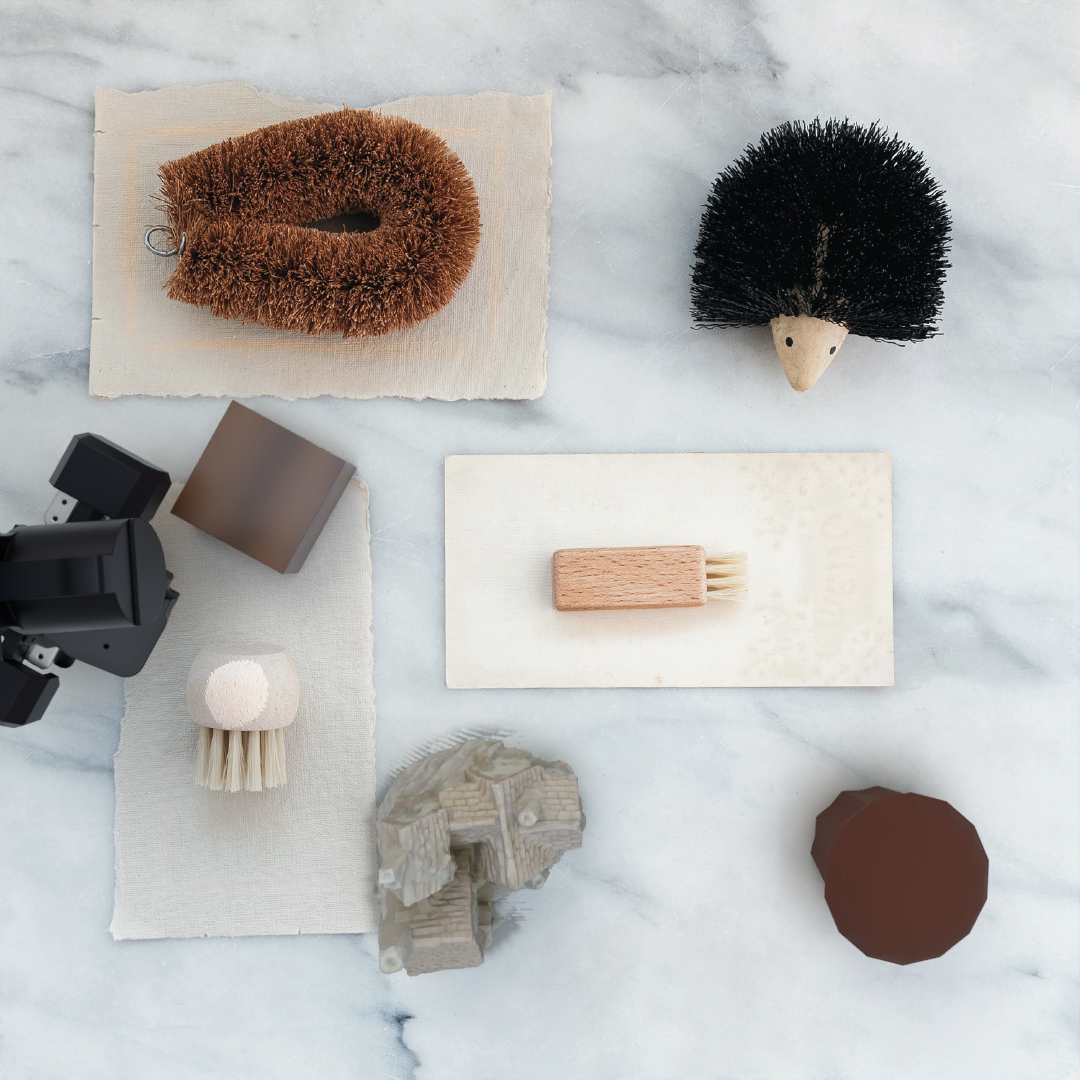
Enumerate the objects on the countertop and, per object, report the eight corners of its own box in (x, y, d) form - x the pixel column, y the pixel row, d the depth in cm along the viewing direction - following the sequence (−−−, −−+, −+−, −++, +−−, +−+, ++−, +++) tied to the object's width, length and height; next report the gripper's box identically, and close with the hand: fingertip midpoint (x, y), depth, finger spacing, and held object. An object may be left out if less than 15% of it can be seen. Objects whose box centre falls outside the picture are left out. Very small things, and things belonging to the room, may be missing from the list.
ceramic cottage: (365, 946, 63) (331, 1060, 48) (384, 725, 64) (358, 770, 49) (571, 956, 64) (601, 1070, 49) (587, 739, 65) (622, 786, 50)
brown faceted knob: (839, 741, 64) (896, 777, 54) (967, 808, 64) (1049, 856, 54) (767, 880, 64) (811, 942, 54) (896, 948, 64) (964, 1022, 54)
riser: (197, 515, 64) (169, 512, 59) (255, 411, 64) (232, 399, 59) (302, 572, 64) (282, 574, 59) (360, 468, 64) (345, 461, 59)
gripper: (28, 801, 47) (153, 738, 62) (192, 506, 47) (276, 517, 63) (-149, 705, 47) (21, 666, 62) (16, 410, 47) (144, 445, 63)
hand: (119, 575), depth 62 cm, fingers closed on boat, 3 cm apart
